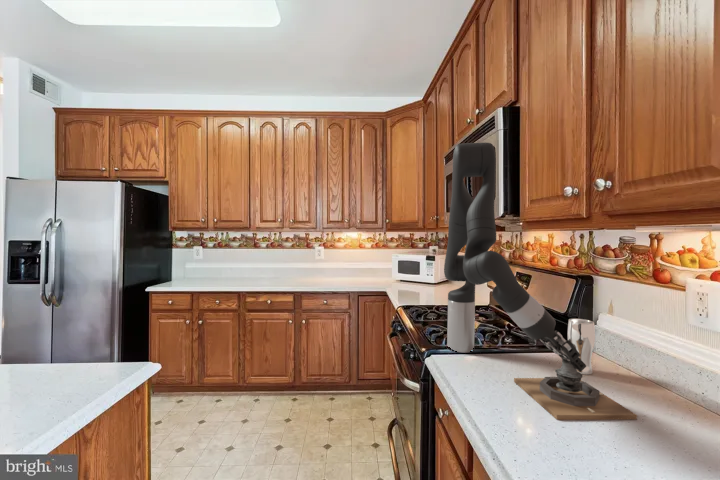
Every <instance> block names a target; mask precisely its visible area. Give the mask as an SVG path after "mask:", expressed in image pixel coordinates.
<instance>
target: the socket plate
mask: <svg viewBox="0 0 720 480" xmlns="http://www.w3.org/2000/svg"><path fill="white" fill-rule="evenodd" d="M513 378H514V379H513V382H514V384H516V385H517V386H518V387H519V388H521V390H523V391H524V392H525V393H526V394H527V395H529V397H531V398H532V399H533V400H534V401H535V402H536V403H537V404H538V405H539V406H541V408H543V409H544V410H545V411H546V412H548V413H549V414H550V415H551V416H552V417H553V418H554V419H555V420H557V421H558V420H560V421H561V420H562V421H563V420H567V421H568V420H569V421H570V420H571V421H574V420H576V421H577V420H579V421H581V420H587V421H588V420H589V421H590V420H591V421H592V420H593V421H594V420H595V421H597V420H599V421H602V420H603V421H604V420H605V421H607V420H608V421H609V420H618V421H621V420H623V421H624V420H625V421H626V420H636V421H637V420H638V415H637V414H636V413H634V412H633V411H632V410H630V409H628V408H627V407H625V406H624V405H622V404H621V403H619V402H617V401H615V400H614V399H612V398H611V397H609V396H607V395H606V394H605V393H603V392H601V391H600V390H599V389H597V388H596V387H594V386H593V385H591V384H589V383H587V382H586V381H583V380H582V379H581V381H580V383H578V384H577V386H578V387H580V389H581V391H579V392H570V391H565V390H562V389H560V388H558V387H557V386H556V384H557V383H559V382H561V381H560V380H559V379H558V377H557V376H545V377H536V378H535V377H513Z"/></svg>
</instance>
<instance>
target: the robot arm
mask: <svg viewBox="0 0 720 480" xmlns="http://www.w3.org/2000/svg"><path fill="white" fill-rule="evenodd" d="M452 154H453V155H452V169H451V170H452V173H451V174H452V177H451V178H452V179H451V181H452V182H451V183H452V184H451V200H450V209H449V217H448V233H447V234H448V235H447V248H446V252H445V258H444V265H443V266H444V267H443V272H444V273H443V274H444V278H445V279H446V281H447V280H448V281H451V282H465V283H464V285H461V286H460V287H459V288H456V289H453V290H450V291H448V293H447V334H446V338H447V339H446V340H447V341H446V342H447V343H446V347H447V346H448V347H450V348H451V349H453V350H455V351H457V352H456V353H465V354H466V353H471V352H470V351H471V350H473V348H474V349H475V321H476V320H475V318H476V285H478V286H480V285H483V284H486V283H490V282H493V283H494V284H495V286H494V288H493V290H492V292H491V293H492V297H493V299H494V301H495V302H496V303H497V304H498V305H499V306H500V307H501V308H502V309H503V310H504V312H505V313H506V314H507V315H508V316H509V318H510V319H511V320H512V321H513V322H514V324H516V325H517V327H519V329H521V331H523V333H524V334H525V335H526V336H527V337H528V338H529V339H531V340H533V341H538V340H539V341H540V342H541V343H542V344H543V345H544V346H545V347H546V348H548V350H550V351H552V352H554V354H555V355H558V356H559V357H560V358H561V356H562V355H563V356H564V357H565V358H566V359H567V360H568V361H569V362H570V363H571V364H572V365H573V366H574V367H575V368H576V369H577V370H578V371H582V370H583V369H584V368H585V367H586V365H585V363H584V362H583V361H582V360H581V359H580V358H579V356H580V354H579V352H578V351H577V350H576V348H575V347H574V346H573V344H572V343H571V342H570V341H569V340H568V339H567V340H566V339H565V338H564V337H563V335H562V334H561V332H559V331H558V330H555V328H556V323H557V322H556V319H555V318H554V317H553V316H552V315H551V314H550V313H549V312H548V311H547V310H546V309H545V308H544V306H543V305H542V303H540V302H539V301H538V300H537V299H536V298H534V297H533V296H532V295H531V294H530V293H529V292H528V291H527V290H526V289H525V288H524V287H523V286H522V284H520V283H519V281H518V280H517V278H516V276H515V274H514V272H513V270H512V268H511V266H510V264H509V263H508V260H507V259H506V258H505V257H504V256H503V255H502V254H500V253H499V252H497V251H494V250H490V249H491V247H492V246H494V245H495V244H496V242H497V225H496V218H495V217H496V216H495V200H496V199H495V197H496V169H497V157H496V150H495V146H494V145H493V144H492V143H491V142H466V143H465V142H463V143H458V144H456V145H455V148H454V150H453V153H452ZM473 177H474V178H478V177H480V178H481V177H482V184H481V186H480V188H479V190H478V193H477V194H476V195H475V196H474V198H473V196H472V195H471V193H469V190H468V189H467V185H466V183H465V181H464V180H465V178H473ZM464 247H465V250H464V254H462V255H461V254H460V255H459V253H460V251H461V250H462V249H463V248H464ZM455 351H454V352H455Z"/></svg>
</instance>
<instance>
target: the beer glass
mask: <svg viewBox="0 0 720 480" xmlns="http://www.w3.org/2000/svg"><path fill="white" fill-rule="evenodd" d="M567 323H568V324H567V340H569V339H570V340H571V343H573V344H574V345H575V346H576V350H577V351H578V352H579V354H580V356H579V358H580V359H581V360H582V361H583V362H584V363H585V365H586V367H585V368H584V369H583V370H582V371H578V370H577V372H579V373H581V374H582V375H585V376H586V375H592V374H593V368H592V367H593V366H592V355H593V352H594V347H595V342H596V341H595V340H596V329H595V322H594V321H592V320H589V319H585V318H584V319H583V318H569V319H568V322H567Z"/></svg>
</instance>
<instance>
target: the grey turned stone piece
mask: <svg viewBox="0 0 720 480" xmlns="http://www.w3.org/2000/svg"><path fill="white" fill-rule="evenodd" d="M569 341H570V342H571V340H570V339H569ZM572 344H573V343H572ZM573 346H574V347H575V348H576V346H575V345H574V344H573ZM560 358H561V367H560V368H557V369H555V371H554V372H555V373H556V377H558V379H559V380H560V381H561V382H559V383H557V384H556V386H557V387H558V388H560V389H562V390H565V391H570V392H579V391H581V389H580V387H578V386H577V384H578V383H580V381H581V380H582V378H583V375H584V374H581V373H579V372H577V369H576V368H575V367H574V366H573V365H572V364H571V363H570V362H569V361H568V360H567V359H566V358H565V357H564V356H563V355H562V356H561V357H560Z"/></svg>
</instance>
